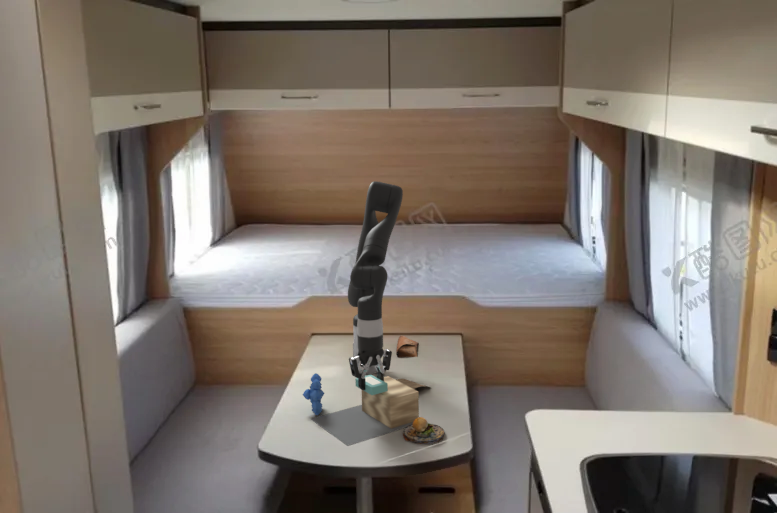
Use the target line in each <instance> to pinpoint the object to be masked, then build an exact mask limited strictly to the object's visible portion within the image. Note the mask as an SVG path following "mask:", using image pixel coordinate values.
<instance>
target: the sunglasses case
mask: <svg viewBox="0 0 777 513" xmlns="http://www.w3.org/2000/svg"><path fill="white" fill-rule="evenodd" d="M418 345H419V342H418V341H416V340H412V339H410V338H408V337H406V336H404V335H400V336H399V337H398V339H397V344H396V351H395V352H396V353H395V354H396V356H397V358H417V357H418Z"/></svg>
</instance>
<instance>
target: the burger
mask: <svg viewBox="0 0 777 513" xmlns="http://www.w3.org/2000/svg"><path fill="white" fill-rule="evenodd" d="M445 435H446V432H445V430H444V429H443V427H442V426H440V425H437V424H433V423H429V422H428V420H427V419H426V418H424V417H423V416H420V417H419V418H417V417H416V419H415V420H414V422H413V424H412V425H409V426H407V427H406V428H404V429H403V432H402V436H403V438H404V440H405V441H407V442H411V443H413V444H417V445H427V444H430V445H431V446H433V445H435V444H436V445H437V444H439V443H442V442H443V439H444V436H445Z"/></svg>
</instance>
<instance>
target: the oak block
mask: <svg viewBox="0 0 777 513" xmlns="http://www.w3.org/2000/svg"><path fill="white" fill-rule="evenodd" d="M384 382H386V383H388V391H386V392H382V393H379V394H375V395H370V394H369V393H367V392H365V391H363V390H361V405H362V411H364V412H365V413H367V414H368V415H370V416H372V417H373V418H375V419H377V420H378V421H380V422H381V423H383V424H385V425H386V426H388V427H389V428H395V427H398V426H401V425H404V424H408V423H411V422H414V420H415V419H416V417H417V418H419V415H420V412H419V410H420V409H419V407H420V406H419V404H420V402H419V398H420V397H419V391H418V390H417V389H412V388H410V387H408V386H407V385H405V384H403V383H401V382H399V381H397V380H395V378H393V377H391V376H388V375H387V376H384Z"/></svg>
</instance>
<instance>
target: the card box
mask: <svg viewBox="0 0 777 513" xmlns="http://www.w3.org/2000/svg"><path fill="white" fill-rule="evenodd" d="M354 378H355V387H357V388H358V389H360V388H359V386H358V378H356V377H354ZM365 381H366V384H365V390H363V391H365V392H367V393H369V394H370V395H375V394H379V393H382V392H386V391H388V383H386V382H384V381H382V380H380V379H378V378H377V376H375V375H372V374H366V375H365Z"/></svg>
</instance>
